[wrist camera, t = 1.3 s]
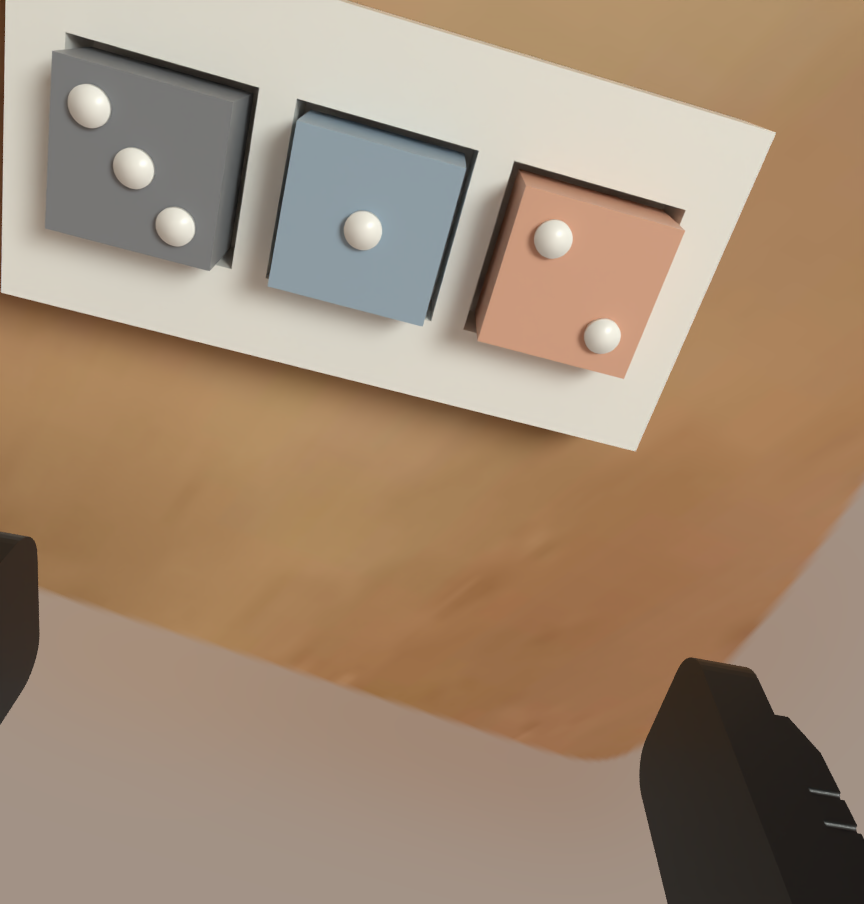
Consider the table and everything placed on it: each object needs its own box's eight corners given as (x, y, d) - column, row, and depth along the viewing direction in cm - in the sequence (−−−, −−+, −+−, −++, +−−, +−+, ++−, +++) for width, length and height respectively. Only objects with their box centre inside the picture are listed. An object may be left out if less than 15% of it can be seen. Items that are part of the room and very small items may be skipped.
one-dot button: (283, 261, 25) (266, 288, 22) (311, 109, 23) (295, 121, 20) (424, 298, 25) (422, 329, 23) (464, 152, 23) (466, 169, 21)
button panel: (44, 264, 27) (0, 292, 24) (59, -87, 22) (7, -100, 20) (618, 411, 29) (635, 451, 26) (740, 119, 24) (776, 132, 22)
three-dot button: (81, 208, 24) (41, 230, 22) (91, 46, 22) (48, 51, 20) (230, 247, 24) (207, 273, 22) (253, 93, 22) (231, 103, 20)
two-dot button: (474, 312, 25) (477, 343, 23) (518, 168, 23) (526, 186, 21) (609, 347, 26) (625, 381, 23) (663, 210, 24) (687, 232, 21)
